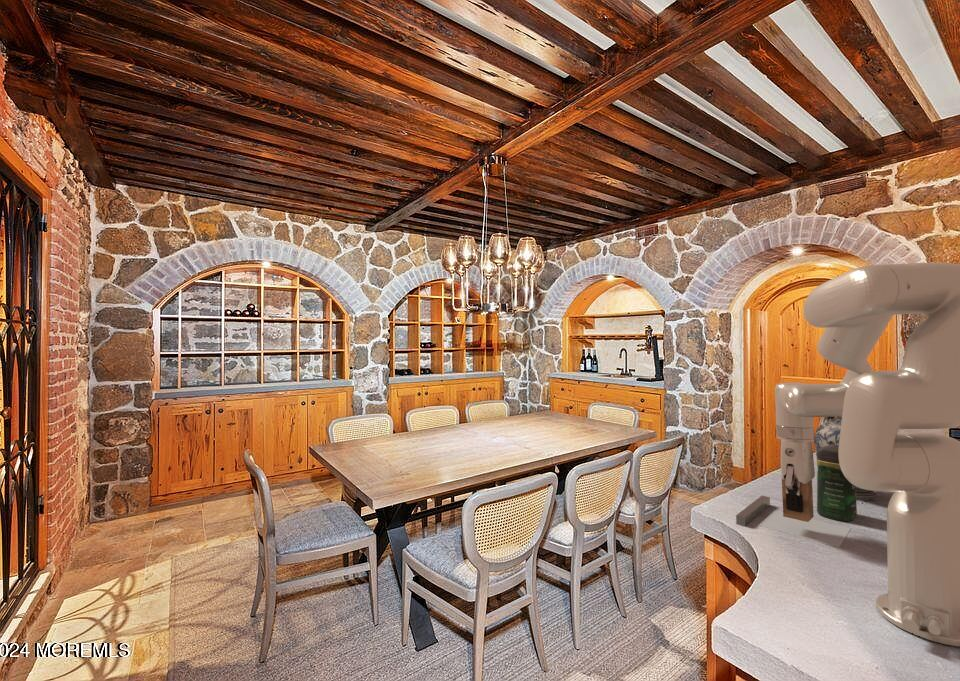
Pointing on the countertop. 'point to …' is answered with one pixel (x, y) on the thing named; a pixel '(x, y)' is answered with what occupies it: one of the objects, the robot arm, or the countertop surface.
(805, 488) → the walnut block
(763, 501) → the steel bar
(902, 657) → the countertop surface
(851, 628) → the countertop surface
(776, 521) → the mat
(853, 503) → the coffee jar
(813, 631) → the countertop surface
